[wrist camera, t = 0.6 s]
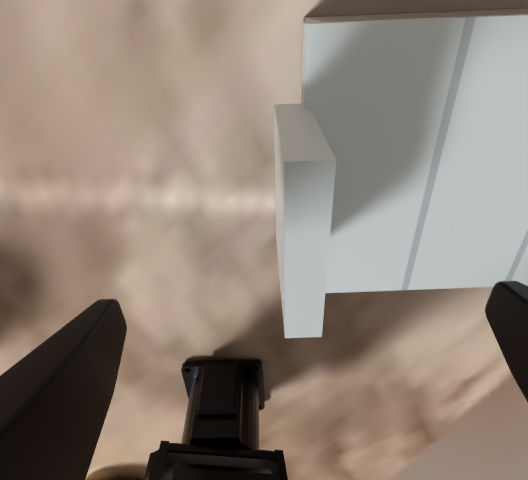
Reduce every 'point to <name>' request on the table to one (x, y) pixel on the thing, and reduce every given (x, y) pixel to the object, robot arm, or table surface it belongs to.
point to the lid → (402, 161)
